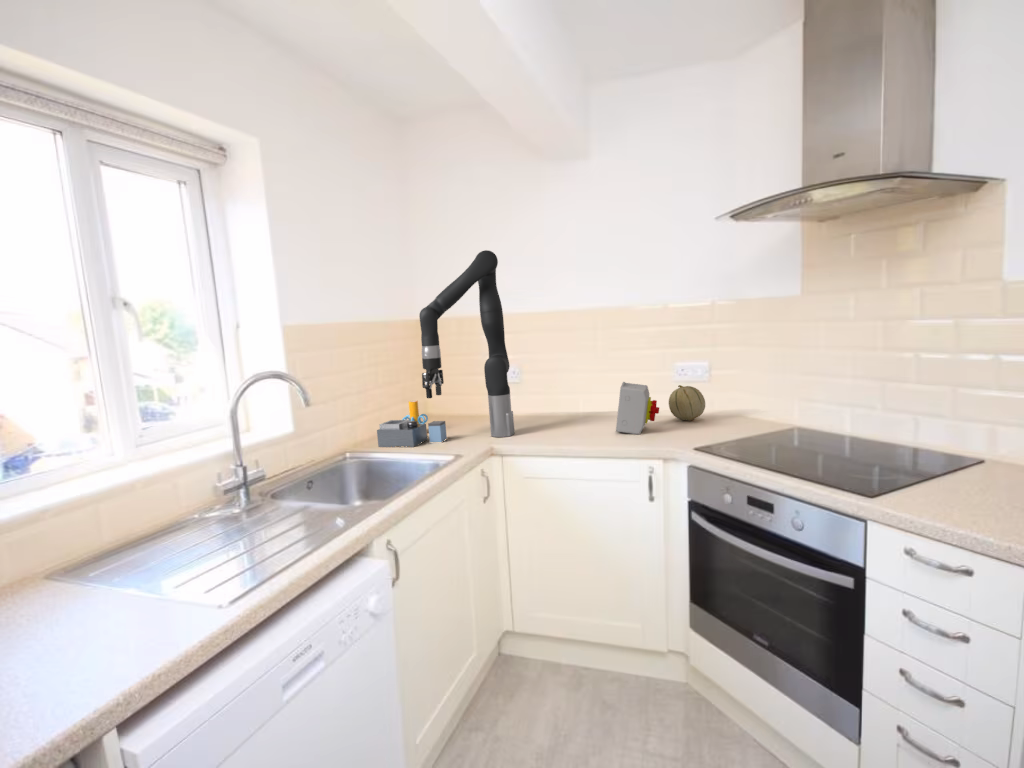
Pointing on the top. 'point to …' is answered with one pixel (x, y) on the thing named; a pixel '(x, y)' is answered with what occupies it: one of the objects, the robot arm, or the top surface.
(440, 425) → the grey lidded box
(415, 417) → the cylinder
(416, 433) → the grey boxy piece
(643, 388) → the electrical switch box
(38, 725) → the top surface
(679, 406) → the cantaloupe
